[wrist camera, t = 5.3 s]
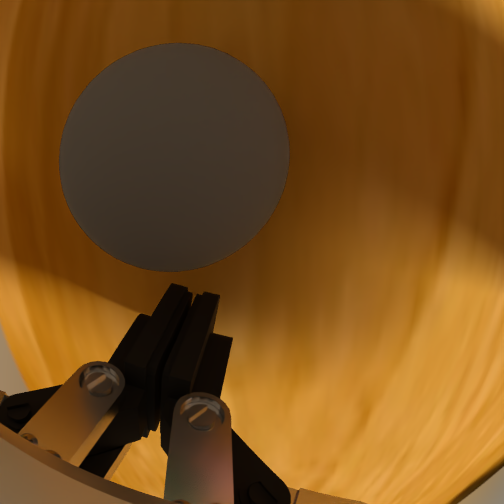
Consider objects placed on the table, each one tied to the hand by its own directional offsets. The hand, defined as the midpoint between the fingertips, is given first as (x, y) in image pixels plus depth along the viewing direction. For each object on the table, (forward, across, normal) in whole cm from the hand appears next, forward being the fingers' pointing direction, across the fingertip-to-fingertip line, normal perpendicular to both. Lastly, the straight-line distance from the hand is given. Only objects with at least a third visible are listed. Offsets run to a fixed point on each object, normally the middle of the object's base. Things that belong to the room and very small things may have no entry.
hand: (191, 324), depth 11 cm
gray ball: (-1, +1, -6) cm, 6 cm away
